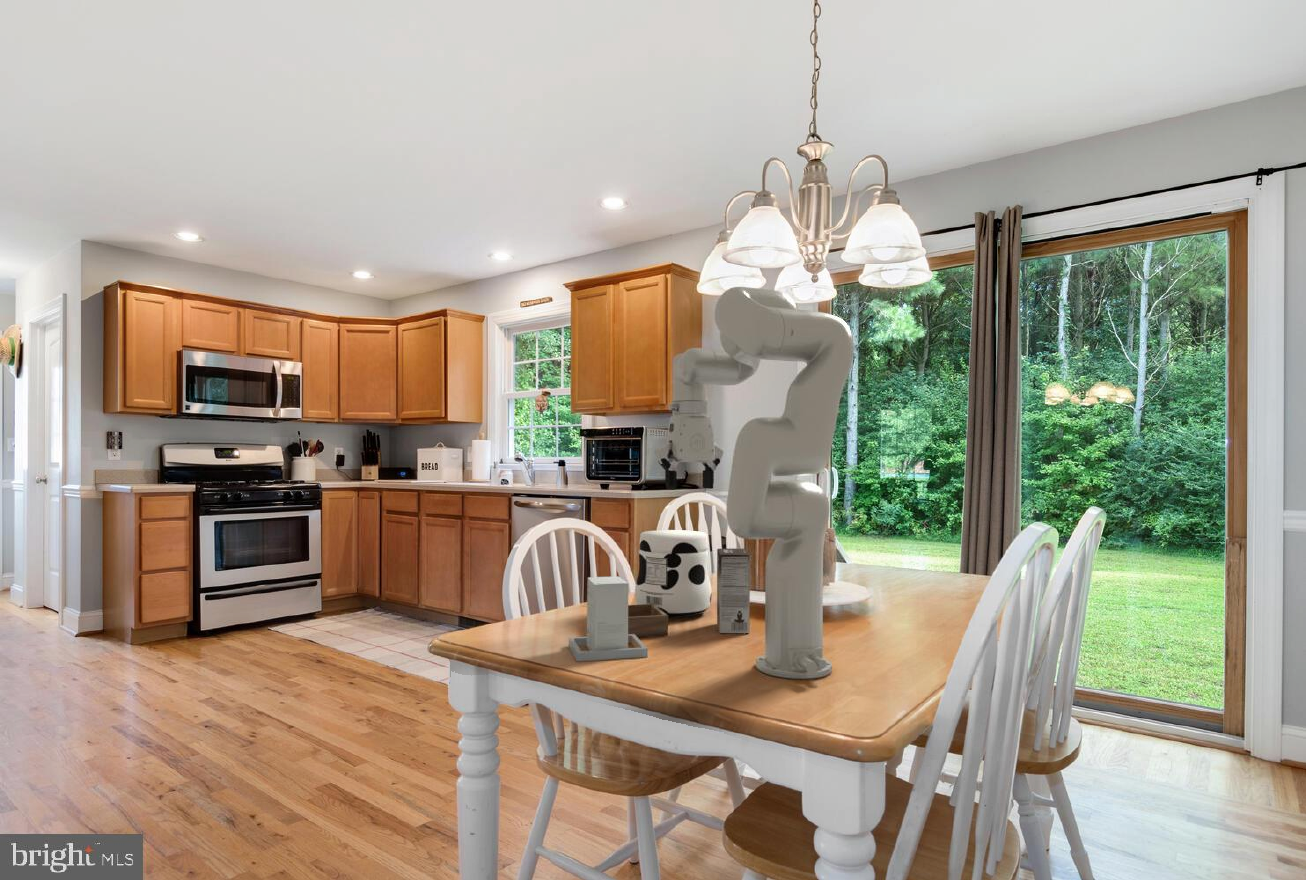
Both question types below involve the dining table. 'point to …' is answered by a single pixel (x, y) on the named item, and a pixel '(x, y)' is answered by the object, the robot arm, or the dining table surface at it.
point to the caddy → (647, 621)
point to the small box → (607, 613)
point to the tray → (580, 655)
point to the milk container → (674, 572)
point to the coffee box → (733, 590)
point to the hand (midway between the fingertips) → (689, 488)
